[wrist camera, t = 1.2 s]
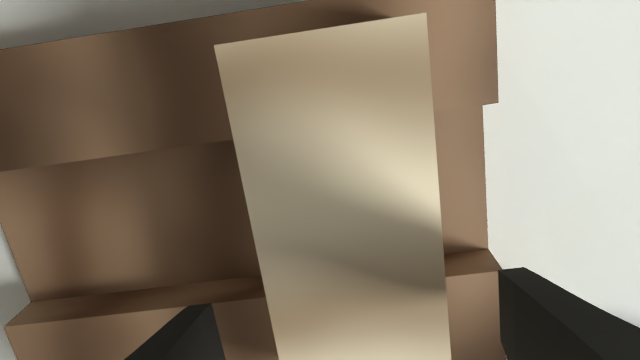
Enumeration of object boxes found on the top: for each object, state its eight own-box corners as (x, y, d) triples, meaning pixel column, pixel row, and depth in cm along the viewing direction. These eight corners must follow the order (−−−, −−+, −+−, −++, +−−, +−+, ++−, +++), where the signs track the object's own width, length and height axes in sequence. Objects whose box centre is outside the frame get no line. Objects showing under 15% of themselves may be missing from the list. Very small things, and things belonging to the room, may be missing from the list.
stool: (254, 39, 17) (213, 45, 11) (394, 17, 16) (426, 12, 11) (313, 361, 21) (305, 485, 15) (424, 349, 21) (459, 472, 15)
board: (470, -21, 19) (494, -29, 16) (485, 320, 24) (505, 360, 21) (-43, 60, 20) (-105, 66, 17) (70, 363, 25) (36, 406, 22)
